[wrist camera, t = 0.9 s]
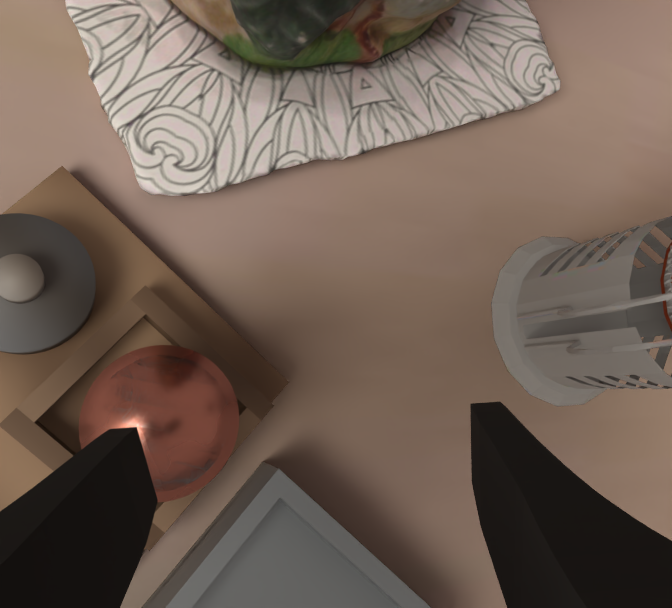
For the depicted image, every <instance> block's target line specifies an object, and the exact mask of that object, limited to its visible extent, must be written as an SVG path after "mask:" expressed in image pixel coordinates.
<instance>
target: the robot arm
mask: <svg viewBox="0 0 672 608" xmlns="http://www.w3.org/2000/svg"><path fill="white" fill-rule="evenodd" d="M471 459H472V485H473V490H474V495H475V500H476V505H477V510H478V515H479V520H480V525H481V528H482V531H483V535H484V538H485V541H486V544H487V547H488V550H489V553H490V556H491V559H492V562H493V566H494V569H495V572H496V575H497V578H498V581H499V584H500V587H501V590H502V593H503V596H504V599H505V602H506V605H507V608H672V541H671V540H669V539H667V538H666V537H664V536H662V535H661V534H659V533H657V532H655V531H654V530H652V529H650V528H649V527H647V526H646V525H644V524H643V523H641V522H639V521H638V520H636V519H635V518H633V517H632V516H630V515H629V514H627V513H626V512H624V511H623V510H622V509H620V508H619V507H617V506H616V505H614V504H613V503H611V502H610V501H609V500H607V499H606V498H604V497H603V496H602V495H600V494H599V493H598V492H596V491H595V490H594V489H592V488H591V487H590V486H589V485H588V484H586V483H585V482H584V481H583V480H582V479H580V478H579V477H578V476H577V475H575V474H574V473H573V472H572V471H571V470H570V469H569V468H567V467H566V466H565V465H564V464H563V463H562V462H561V461H560V460H559V459H557V458H556V457H555V456H554V455H553V454H552V453H551V452H550V451H549V450H548V449H547V448H546V447H544V446H543V445H542V444H541V443H540V442H539V441H538V440H537V439H536V438H535V437H534V436H533V435H532V434H531V433H530V432H529V431H528V430H527V429H526V428H525V427H524V426H523V424H522V423H521V422H520V421H519V420H518V419H517V418H516V417H515V416H514V415H513V414H512V413H511V412H510V411H509V410H508V409H507V407H506V406H504V405H503V404H502V403H501V402H489V403H475V404H471ZM157 502H158V499H157V496H156V492H155V489H154V485H153V482H152V479H151V475H150V472H149V468H148V465H147V461H146V458H145V454H144V451H143V447H142V444H141V440H140V437H139V433H138V430H137V427H129V428H114V429H109V430H107V431H106V432H104V433H103V434H101V435H100V436H99V437H97V438H96V439H95V440H93V441H92V442H91V443H89V444H88V445H87V446H85V447H84V448H83V449H82V450H80V451H79V452H78V453H76V454H75V455H74V456H73V457H71V458H70V459H69V460H68V461H66V462H65V463H64V464H62V465H61V466H60V467H59V468H57V469H56V470H55V471H54V472H52V473H51V474H50V475H48V476H47V477H46V478H45V479H43V480H42V481H41V482H39V483H38V484H37V485H36V486H34V487H33V488H32V489H30V490H29V491H28V492H26V493H25V494H23V495H22V496H21V497H19V498H18V499H17V500H15V501H14V502H12V503H11V504H10V505H8V506H7V507H6V508H4V509H3V510H1V511H0V608H120V606H121V604H122V601H123V599H124V596H125V594H126V592H127V589H128V587H129V585H130V582H131V580H132V578H133V575H134V573H135V570H136V568H137V565H138V563H139V561H140V558H141V556H142V553H143V551H144V548H145V546H146V543H147V540H148V536H149V533H150V529H151V526H152V522H153V518H154V514H155V510H156V506H157Z"/></svg>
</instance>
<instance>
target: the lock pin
mask: <svg viewBox="0 0 672 608" xmlns="http://www.w3.org/2000/svg"><path fill="white" fill-rule="evenodd" d="M129 427H137V430H138V433H139V437H140V440H141V444H142V447H143V451H144V454H145V458H146V461H147V465H148V468H149V472H150V475H151V479H152V482H153V485H154V489H155V492H156V496H157V499H158V502H167V501H172V500H176V499H179V498H182V497H185V496H187V495H190V494H192V493H194V492H196V491H197V490H199V489H200V488H202V487H204V486H205V485H206V484H207V483H209V482H210V481H211V480H212V479H213V478H214V477H215V476H216V475H217V474H218V473H219V472H220V471H221V469H222V468H223V467H224V465H225V464H226V462H227V460H228V459H229V457H230V455H231V453H232V451H233V448H234V446H235V443H236V439H237V435H238V429H239V409H238V403H237V399H236V396H235V393H234V390H233V388H232V386H231V384H230V382H229V380H228V379H227V377H226V376H225V375H224V373H223V372H222V371H221V370H220V369H219V368H218V367H217V365H215V364H214V363H213V362H212V361H211V360H209V359H208V358H206V357H205V356H203V355H201V354H200V353H197V352H195V351H193V350H190V349H187V348H184V347H179V346H173V345H155V346H148V347H144V348H140V349H137V350H134V351H131V352H129V353H127V354H125V355H123V356H121V357H120V358H118V359H117V360H115V361H114V362H112V363H111V364H110V365H109V366H108V367H106V368H105V369H104V370H103V371H102V372H101V373H100V375H99V376H98V377H97V378H96V379H95V381H94V382H93V384H92V385H91V387H90V388H89V390H88V392H87V394H86V396H85V399H84V402H83V405H82V408H81V412H80V417H79V440H80V444H81V449H83V448H84V447H85V446H87V445H88V444H89V443H91V442H92V441H93V440H95V439H96V438H97V437H99V436H100V435H101V434H103V433H104V432H106V431H107V430H109V429H114V428H129Z"/></svg>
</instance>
